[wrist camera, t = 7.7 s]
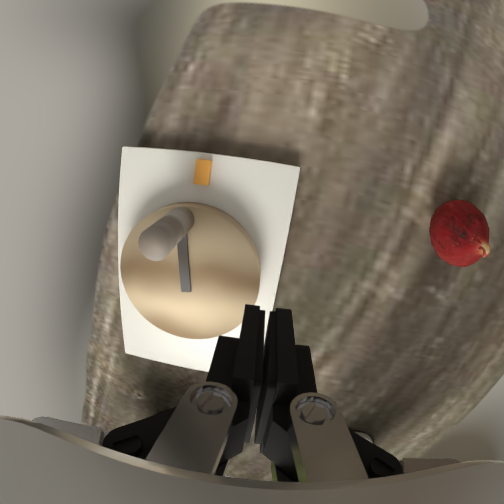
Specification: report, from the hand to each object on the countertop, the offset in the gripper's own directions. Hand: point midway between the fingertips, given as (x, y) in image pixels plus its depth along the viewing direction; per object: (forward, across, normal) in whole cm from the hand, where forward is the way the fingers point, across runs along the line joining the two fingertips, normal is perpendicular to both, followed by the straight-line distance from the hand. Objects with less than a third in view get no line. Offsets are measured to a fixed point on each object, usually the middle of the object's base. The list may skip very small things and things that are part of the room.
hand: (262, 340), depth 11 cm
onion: (+17, -17, -4) cm, 24 cm away
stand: (+16, +6, +5) cm, 18 cm away
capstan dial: (+14, +6, +4) cm, 16 cm away
